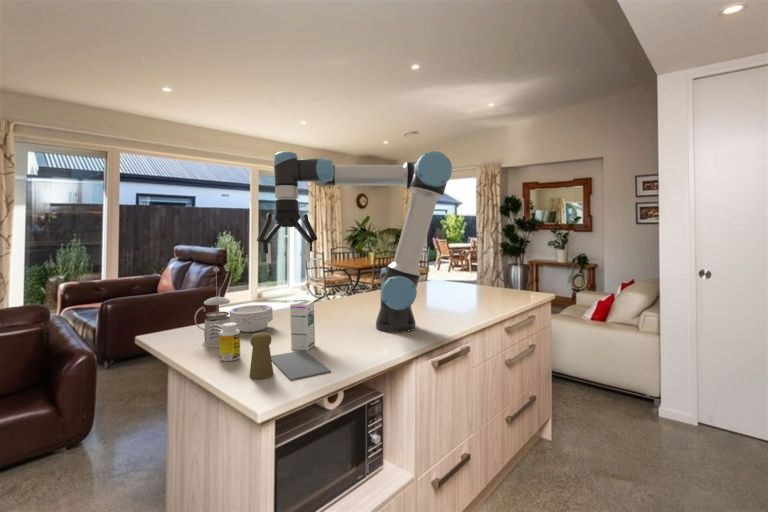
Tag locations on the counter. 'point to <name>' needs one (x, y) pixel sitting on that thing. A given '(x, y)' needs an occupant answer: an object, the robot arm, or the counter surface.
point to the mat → (298, 365)
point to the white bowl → (251, 317)
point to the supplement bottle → (229, 342)
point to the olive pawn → (261, 356)
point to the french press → (211, 336)
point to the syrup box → (302, 325)
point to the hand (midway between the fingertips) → (288, 262)
